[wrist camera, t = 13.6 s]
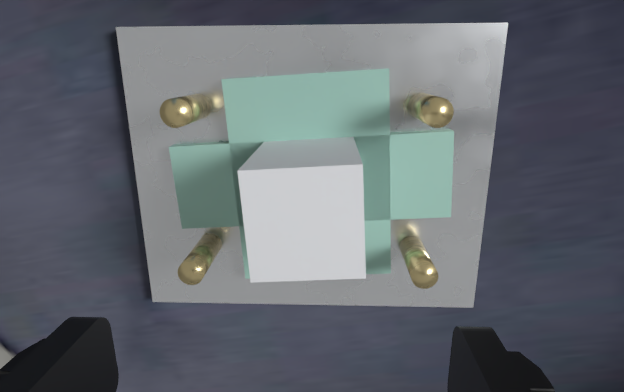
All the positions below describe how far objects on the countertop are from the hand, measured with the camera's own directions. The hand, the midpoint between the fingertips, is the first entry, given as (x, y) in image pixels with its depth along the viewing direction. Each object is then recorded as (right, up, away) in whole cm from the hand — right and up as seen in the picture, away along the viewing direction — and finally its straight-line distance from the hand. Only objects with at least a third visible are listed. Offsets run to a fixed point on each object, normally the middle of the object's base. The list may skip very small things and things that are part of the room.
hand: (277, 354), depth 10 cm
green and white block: (+1, +5, +15) cm, 16 cm away
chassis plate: (+1, +5, +16) cm, 17 cm away
